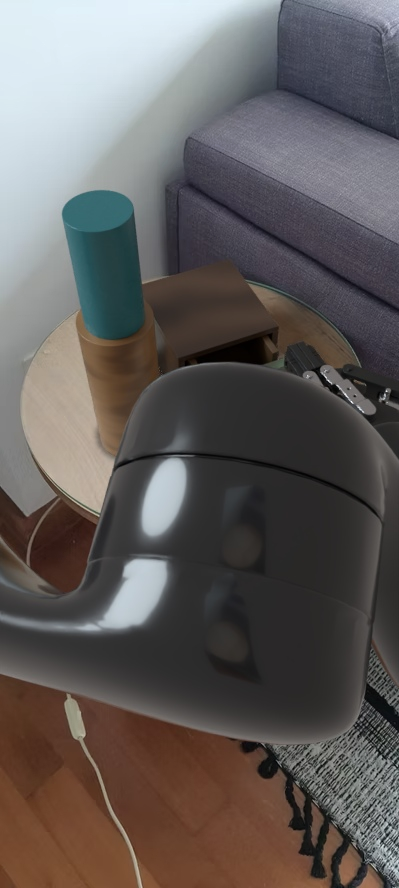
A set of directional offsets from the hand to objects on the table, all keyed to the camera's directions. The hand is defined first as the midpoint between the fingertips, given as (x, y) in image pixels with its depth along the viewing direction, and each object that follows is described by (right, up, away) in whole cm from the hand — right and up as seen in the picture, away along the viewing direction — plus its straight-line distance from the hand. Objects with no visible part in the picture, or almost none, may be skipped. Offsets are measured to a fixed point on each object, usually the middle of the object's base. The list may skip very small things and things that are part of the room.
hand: (293, 349), depth 62 cm
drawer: (-5, -2, +21) cm, 22 cm away
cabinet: (-8, +3, +27) cm, 28 cm away
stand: (-16, -7, +19) cm, 26 cm away
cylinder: (-17, +4, +5) cm, 18 cm away
